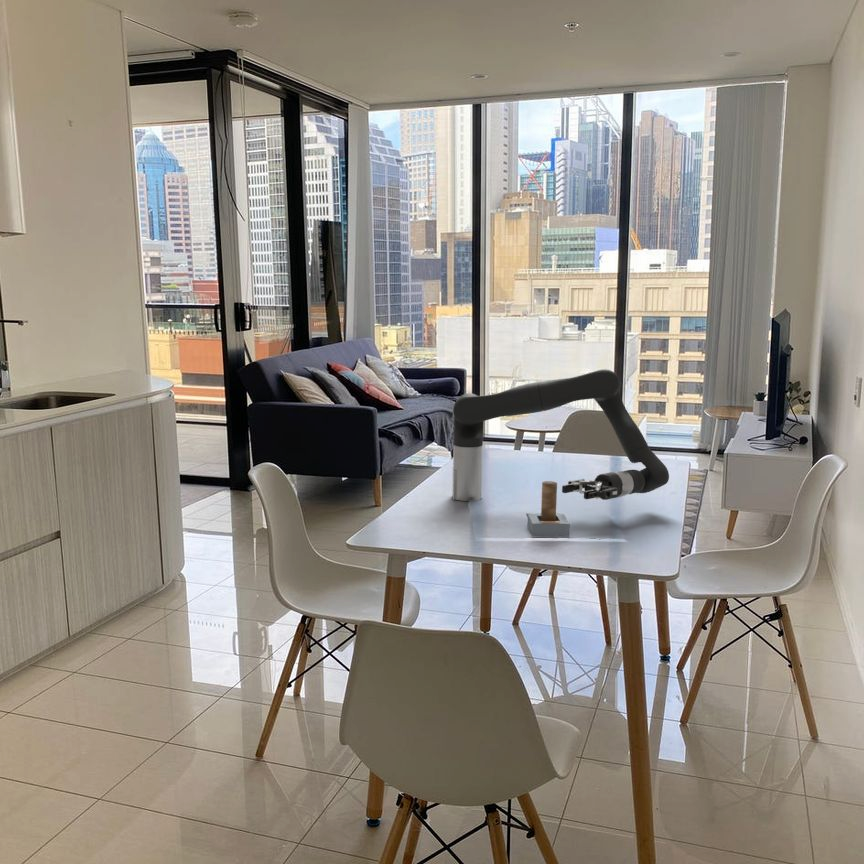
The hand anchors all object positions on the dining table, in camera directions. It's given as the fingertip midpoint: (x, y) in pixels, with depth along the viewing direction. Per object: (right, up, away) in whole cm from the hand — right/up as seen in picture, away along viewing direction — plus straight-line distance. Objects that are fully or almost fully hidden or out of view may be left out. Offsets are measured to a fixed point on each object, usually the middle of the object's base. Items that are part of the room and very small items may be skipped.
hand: (573, 492), depth 240 cm
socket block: (-8, -11, -4) cm, 14 cm away
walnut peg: (-8, -11, -4) cm, 14 cm away
